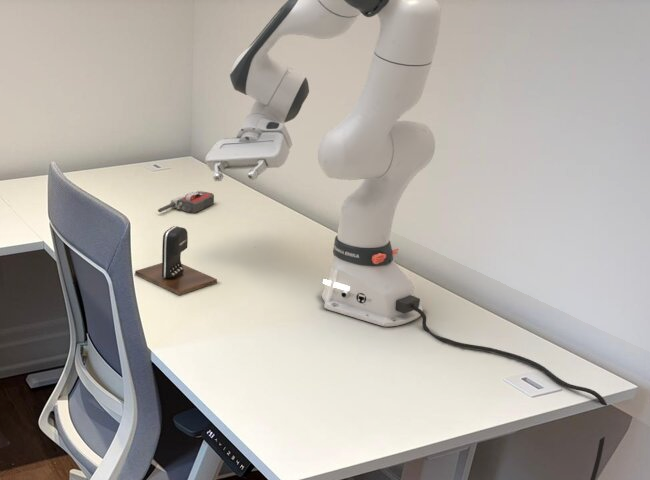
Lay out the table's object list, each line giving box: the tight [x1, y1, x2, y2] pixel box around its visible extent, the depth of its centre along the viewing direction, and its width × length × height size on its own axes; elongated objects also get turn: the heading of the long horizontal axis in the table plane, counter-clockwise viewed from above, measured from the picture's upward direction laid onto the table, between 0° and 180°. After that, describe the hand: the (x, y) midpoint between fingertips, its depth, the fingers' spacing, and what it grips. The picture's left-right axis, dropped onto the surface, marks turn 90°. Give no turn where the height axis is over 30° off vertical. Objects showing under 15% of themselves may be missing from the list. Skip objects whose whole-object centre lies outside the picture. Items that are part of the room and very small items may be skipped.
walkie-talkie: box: [157, 190, 215, 214], centre depth 248 cm, size 9×4×20 cm
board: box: [134, 262, 218, 296], centre depth 203 cm, size 16×12×1 cm
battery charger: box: [161, 225, 189, 279], centre depth 200 cm, size 7×4×11 cm, turn 150°
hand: (233, 178), depth 197 cm, fingers open, 8 cm apart
